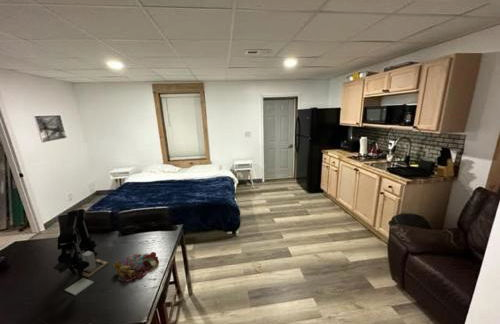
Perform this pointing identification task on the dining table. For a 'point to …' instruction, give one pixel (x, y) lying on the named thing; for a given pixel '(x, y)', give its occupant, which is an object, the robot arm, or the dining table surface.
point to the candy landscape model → (135, 266)
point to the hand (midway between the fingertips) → (77, 275)
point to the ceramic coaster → (79, 286)
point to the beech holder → (96, 269)
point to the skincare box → (89, 260)
